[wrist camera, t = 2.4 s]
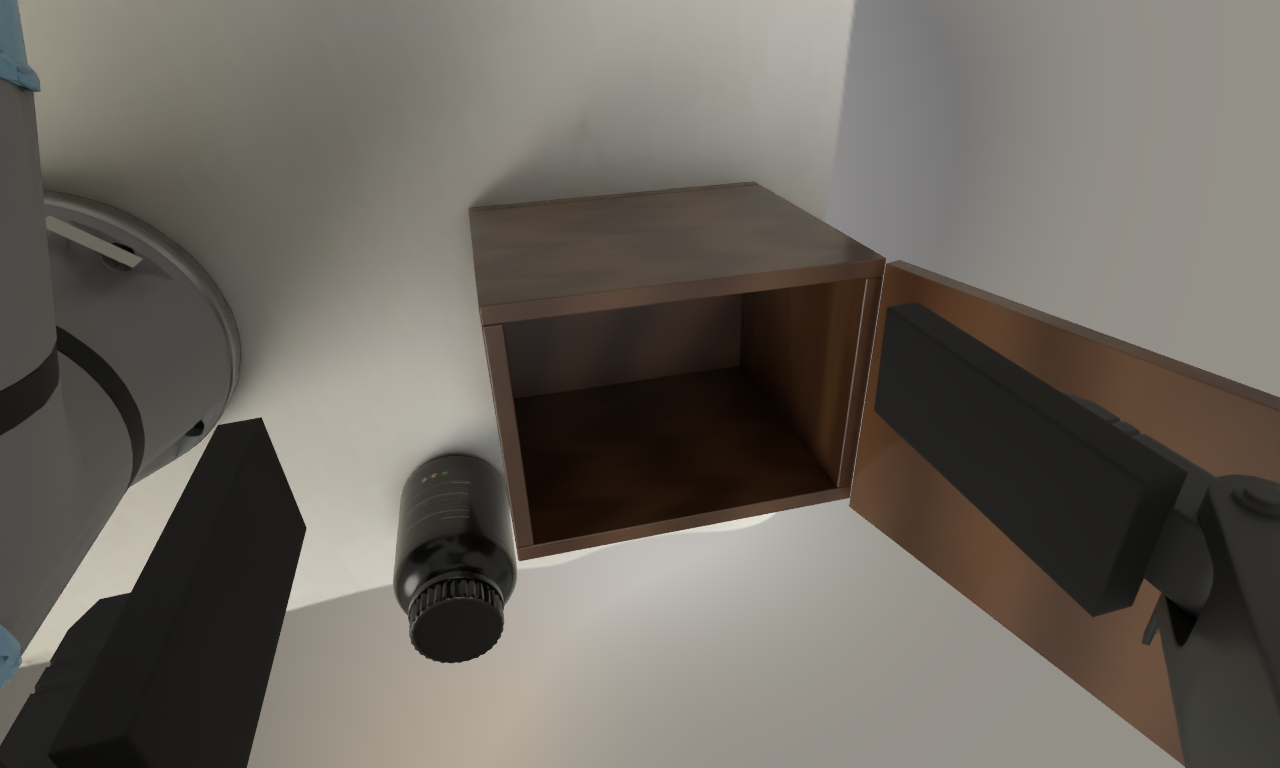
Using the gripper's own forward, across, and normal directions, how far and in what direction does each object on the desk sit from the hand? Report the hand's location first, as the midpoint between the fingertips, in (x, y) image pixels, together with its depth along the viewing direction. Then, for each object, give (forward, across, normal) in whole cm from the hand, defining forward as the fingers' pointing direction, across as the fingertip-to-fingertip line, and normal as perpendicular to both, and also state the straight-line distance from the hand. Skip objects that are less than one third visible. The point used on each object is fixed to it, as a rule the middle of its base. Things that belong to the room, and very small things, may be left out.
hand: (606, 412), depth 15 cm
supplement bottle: (+26, +7, +21) cm, 34 cm away
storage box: (+26, -6, +9) cm, 28 cm away
